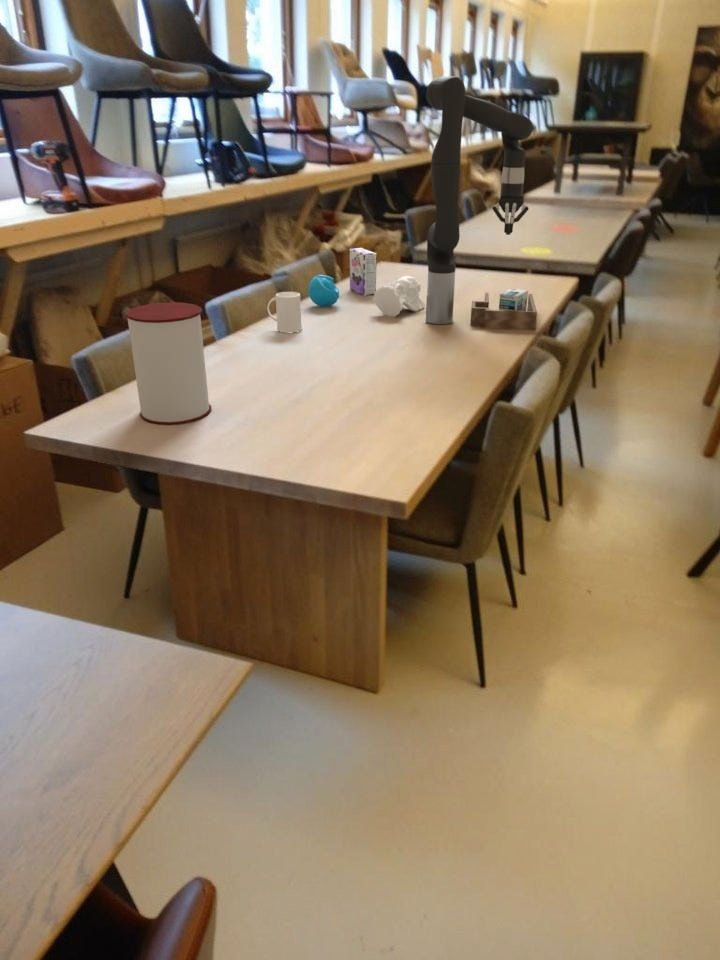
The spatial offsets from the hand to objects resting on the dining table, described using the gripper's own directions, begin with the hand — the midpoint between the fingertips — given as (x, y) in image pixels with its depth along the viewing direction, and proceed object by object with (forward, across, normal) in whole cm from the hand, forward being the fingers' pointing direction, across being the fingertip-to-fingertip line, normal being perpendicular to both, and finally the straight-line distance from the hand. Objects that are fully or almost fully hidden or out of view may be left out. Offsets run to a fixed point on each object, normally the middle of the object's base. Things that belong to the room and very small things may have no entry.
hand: (508, 234), depth 262 cm
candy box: (+27, -55, +24) cm, 66 cm away
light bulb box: (+27, +3, -17) cm, 32 cm away
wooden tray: (+27, 0, -12) cm, 29 cm away
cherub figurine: (+27, -38, -5) cm, 47 cm away
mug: (+27, -73, -36) cm, 86 cm away
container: (+27, -82, -114) cm, 143 cm away
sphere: (+27, -66, -2) cm, 71 cm away
